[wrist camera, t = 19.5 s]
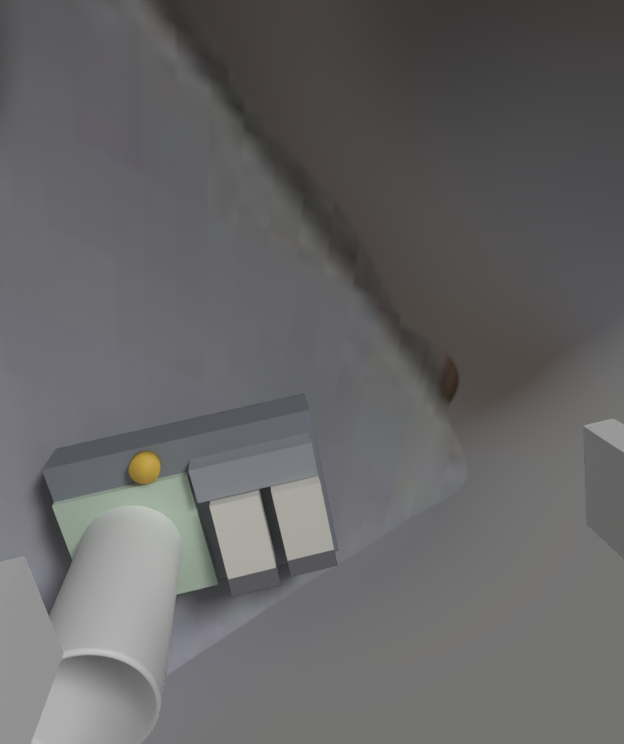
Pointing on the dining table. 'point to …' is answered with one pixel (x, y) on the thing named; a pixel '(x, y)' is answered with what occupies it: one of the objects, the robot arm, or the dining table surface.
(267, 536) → the light grey rectangular block
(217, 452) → the panel
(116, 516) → the cup
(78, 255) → the dining table surface
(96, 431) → the dining table surface
